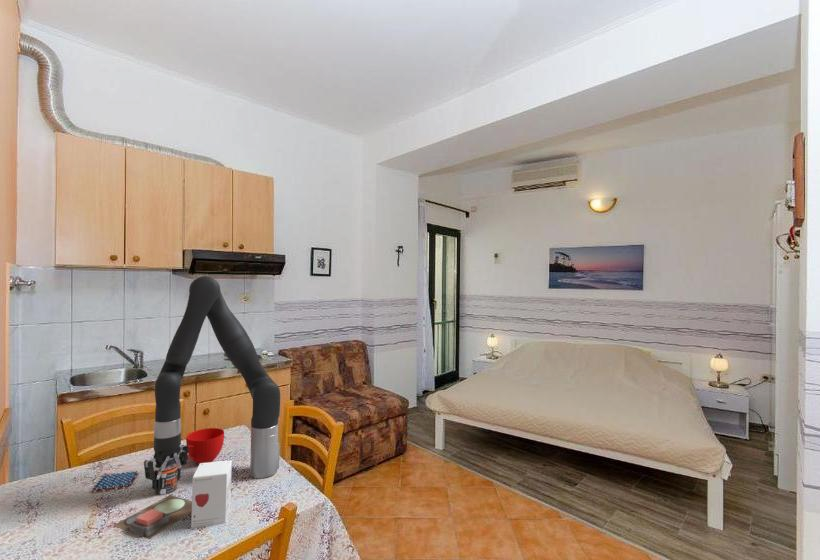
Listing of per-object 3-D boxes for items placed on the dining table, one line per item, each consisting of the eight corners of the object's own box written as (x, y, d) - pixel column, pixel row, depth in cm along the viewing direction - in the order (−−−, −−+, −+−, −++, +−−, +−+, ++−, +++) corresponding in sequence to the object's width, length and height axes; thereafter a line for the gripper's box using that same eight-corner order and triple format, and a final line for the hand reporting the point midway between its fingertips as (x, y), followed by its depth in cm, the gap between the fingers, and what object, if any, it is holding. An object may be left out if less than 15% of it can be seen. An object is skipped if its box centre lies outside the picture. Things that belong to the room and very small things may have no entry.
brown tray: (170, 497, 123) (170, 488, 123) (204, 508, 118) (204, 498, 118) (112, 529, 107) (112, 518, 107) (148, 542, 102) (149, 531, 102)
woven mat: (130, 489, 128) (130, 483, 128) (91, 495, 125) (91, 489, 125) (139, 475, 138) (140, 469, 138) (103, 480, 134) (103, 474, 134)
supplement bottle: (166, 499, 122) (167, 462, 122) (150, 496, 123) (151, 461, 123) (181, 489, 128) (182, 454, 128) (166, 487, 129) (166, 453, 129)
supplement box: (189, 532, 106) (191, 477, 107) (197, 513, 115) (198, 462, 115) (226, 526, 109) (227, 473, 109) (231, 508, 118) (232, 459, 118)
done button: (152, 516, 110) (152, 508, 110) (163, 519, 108) (163, 512, 108) (136, 525, 106) (136, 517, 106) (147, 528, 104) (147, 521, 104)
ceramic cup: (168, 471, 140) (169, 443, 140) (203, 451, 157) (203, 426, 157) (199, 475, 137) (199, 446, 138) (231, 455, 154) (231, 429, 154)
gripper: (154, 443, 118) (153, 498, 118) (195, 427, 131) (194, 477, 131) (137, 439, 120) (136, 493, 120) (179, 423, 134) (178, 472, 134)
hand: (166, 484), depth 126 cm, fingers closed on supplement bottle, 6 cm apart
